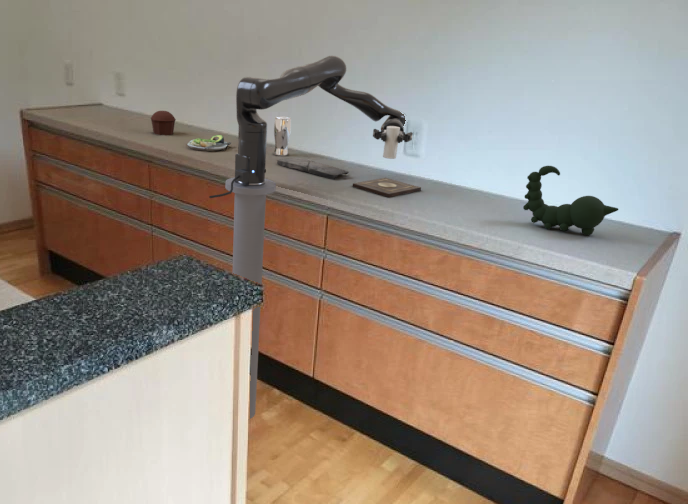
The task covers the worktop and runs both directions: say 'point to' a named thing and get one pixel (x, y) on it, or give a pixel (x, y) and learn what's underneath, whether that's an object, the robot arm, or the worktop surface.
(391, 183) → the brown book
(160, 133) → the muffin
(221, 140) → the salad plate
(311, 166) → the stone slab
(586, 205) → the toy figurine
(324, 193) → the worktop surface
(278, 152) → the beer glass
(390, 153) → the white cylinder
